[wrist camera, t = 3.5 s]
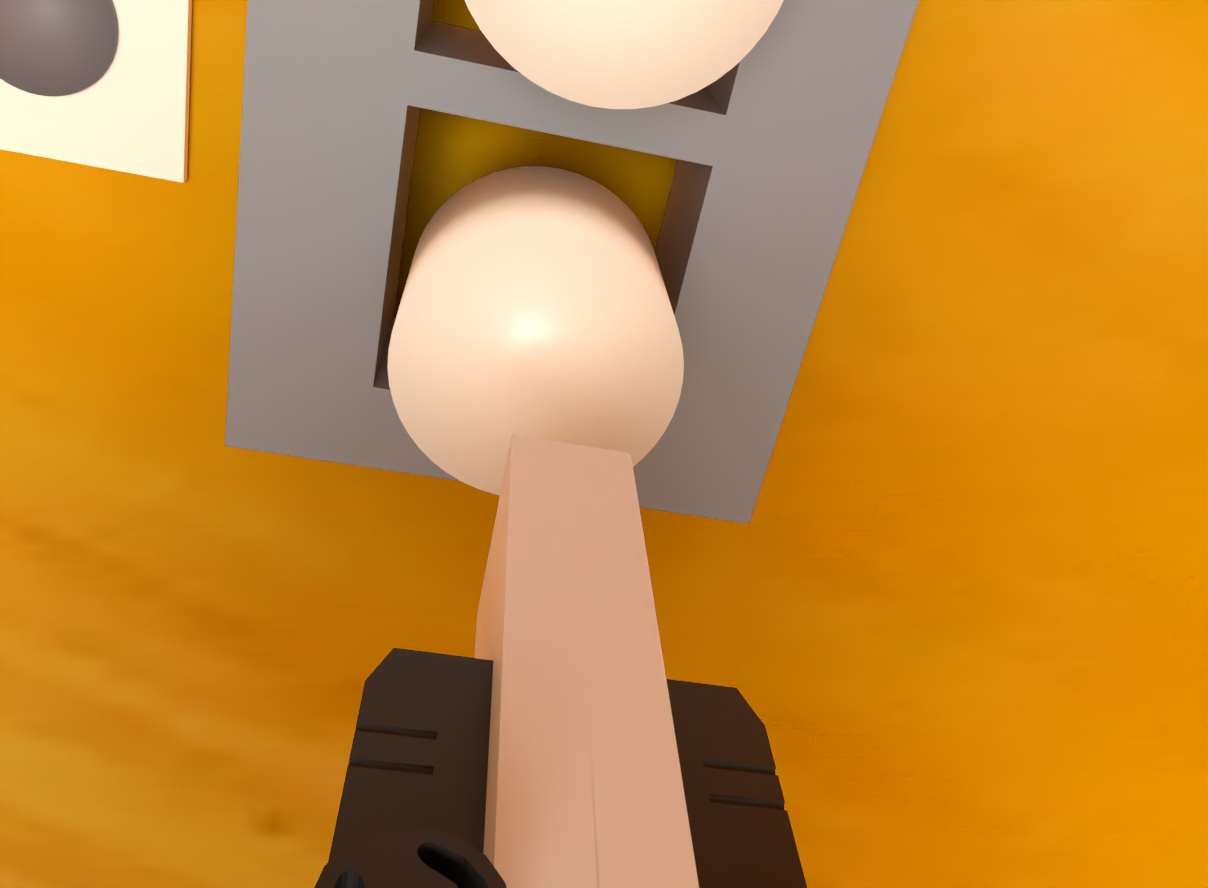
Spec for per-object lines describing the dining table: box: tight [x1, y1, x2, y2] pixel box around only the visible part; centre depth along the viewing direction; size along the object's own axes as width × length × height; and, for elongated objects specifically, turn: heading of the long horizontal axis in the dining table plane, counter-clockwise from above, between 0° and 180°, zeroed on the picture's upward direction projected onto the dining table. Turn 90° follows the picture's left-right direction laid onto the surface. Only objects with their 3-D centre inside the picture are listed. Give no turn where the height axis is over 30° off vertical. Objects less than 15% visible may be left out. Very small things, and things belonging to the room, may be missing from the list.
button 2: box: [387, 166, 684, 496], centre depth 21 cm, size 5×5×6 cm
